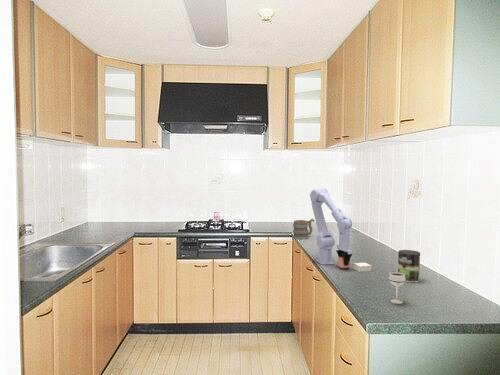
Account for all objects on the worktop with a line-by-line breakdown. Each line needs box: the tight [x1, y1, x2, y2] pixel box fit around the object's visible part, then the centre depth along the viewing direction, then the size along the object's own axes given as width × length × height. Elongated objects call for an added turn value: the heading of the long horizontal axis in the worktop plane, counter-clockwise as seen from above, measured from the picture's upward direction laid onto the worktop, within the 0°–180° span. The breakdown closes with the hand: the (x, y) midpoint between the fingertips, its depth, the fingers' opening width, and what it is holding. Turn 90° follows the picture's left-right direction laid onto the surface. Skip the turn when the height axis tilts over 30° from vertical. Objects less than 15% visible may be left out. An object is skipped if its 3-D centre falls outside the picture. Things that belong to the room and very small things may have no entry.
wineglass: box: [388, 270, 406, 305], centre depth 158 cm, size 7×7×12 cm
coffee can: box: [397, 249, 421, 284], centre depth 189 cm, size 10×10×14 cm
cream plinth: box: [353, 262, 372, 273], centre depth 208 cm, size 7×7×3 cm
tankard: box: [291, 218, 316, 241], centre depth 304 cm, size 20×13×15 cm, turn 114°
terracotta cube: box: [337, 256, 351, 269], centre depth 211 cm, size 5×5×5 cm
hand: (344, 264), depth 211 cm, fingers closed on terracotta cube, 5 cm apart
